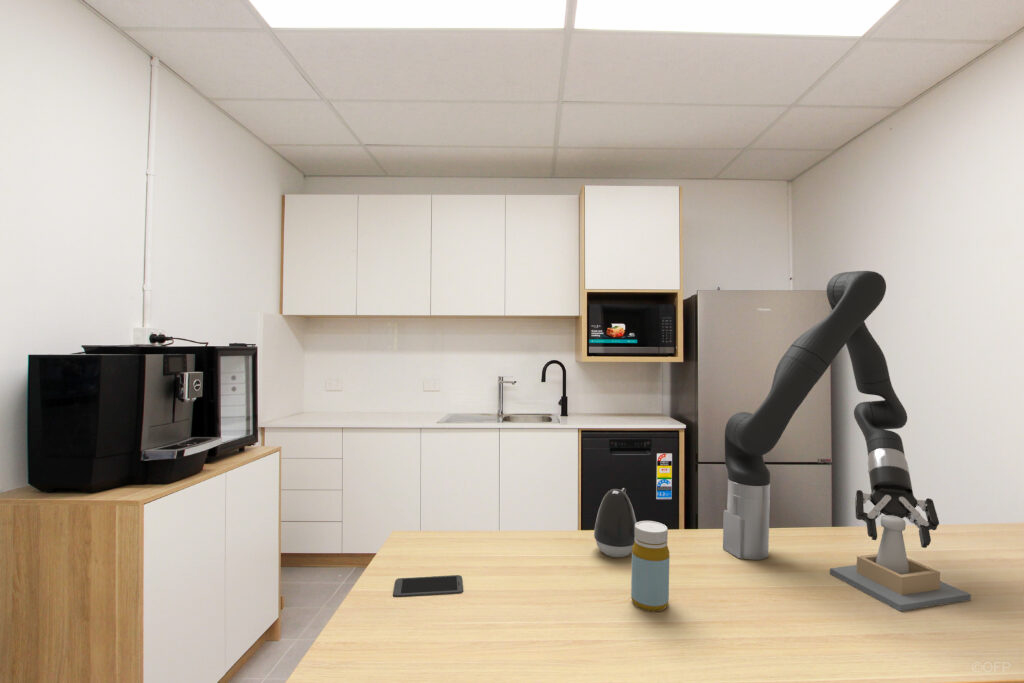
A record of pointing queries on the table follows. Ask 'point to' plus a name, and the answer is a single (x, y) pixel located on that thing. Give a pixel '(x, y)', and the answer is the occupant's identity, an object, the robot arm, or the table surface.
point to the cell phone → (428, 586)
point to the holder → (900, 584)
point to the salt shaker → (893, 545)
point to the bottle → (650, 566)
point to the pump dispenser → (615, 524)
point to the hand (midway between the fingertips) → (899, 542)
